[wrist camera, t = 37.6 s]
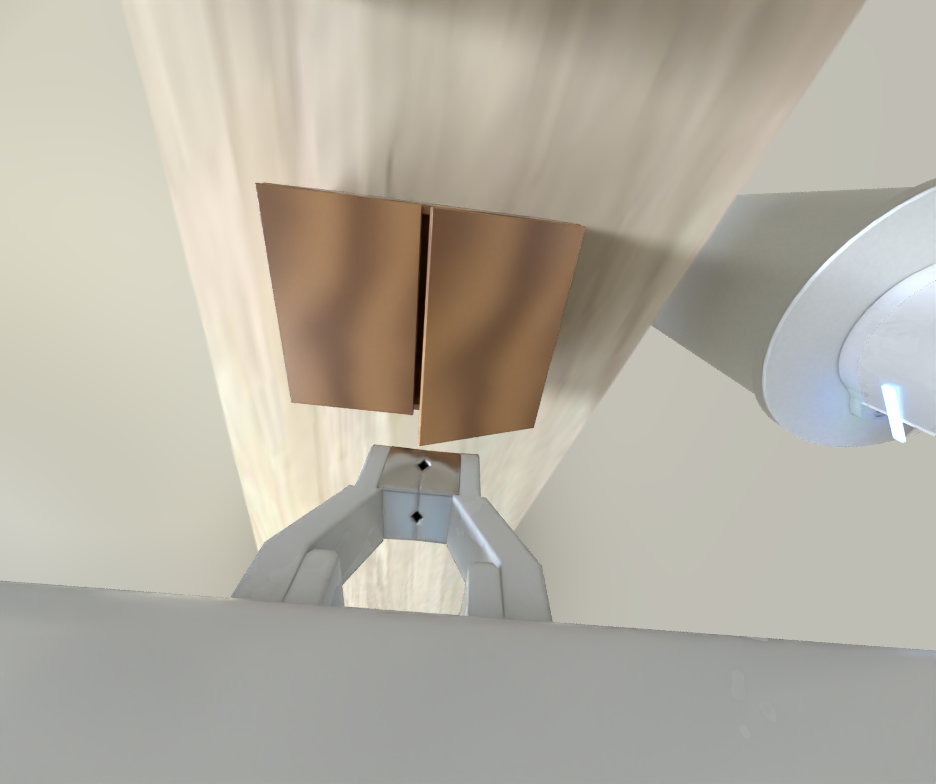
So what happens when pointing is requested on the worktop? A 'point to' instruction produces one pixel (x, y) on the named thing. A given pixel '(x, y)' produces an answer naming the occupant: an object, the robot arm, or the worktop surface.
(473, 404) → the carton flap
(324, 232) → the carton
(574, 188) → the worktop surface
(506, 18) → the worktop surface
